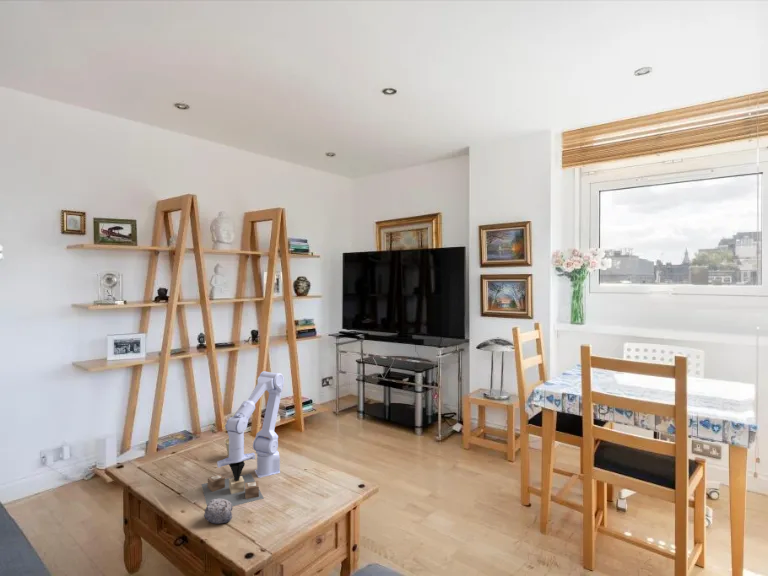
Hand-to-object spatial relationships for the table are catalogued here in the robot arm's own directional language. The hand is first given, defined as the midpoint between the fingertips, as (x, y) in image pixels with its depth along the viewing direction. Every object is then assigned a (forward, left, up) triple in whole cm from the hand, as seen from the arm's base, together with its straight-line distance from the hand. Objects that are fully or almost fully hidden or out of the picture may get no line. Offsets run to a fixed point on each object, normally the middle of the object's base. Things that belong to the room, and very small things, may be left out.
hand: (236, 480), depth 170 cm
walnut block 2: (-5, +7, -4) cm, 9 cm away
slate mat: (+2, 0, -4) cm, 5 cm away
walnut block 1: (+7, -6, -4) cm, 10 cm away
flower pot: (-5, -33, -4) cm, 34 cm away
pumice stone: (+9, +19, -5) cm, 21 cm away
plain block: (0, 0, -4) cm, 4 cm away
